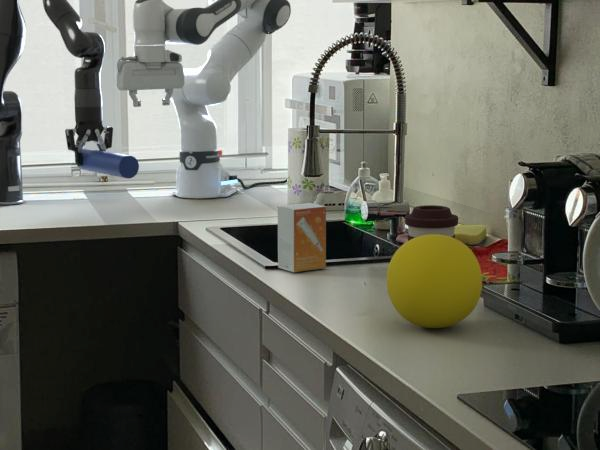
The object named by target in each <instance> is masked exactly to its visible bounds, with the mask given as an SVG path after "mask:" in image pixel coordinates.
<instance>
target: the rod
mask: <svg viewBox="0 0 600 450" xmlns="http://www.w3.org/2000/svg"><path fill="white" fill-rule="evenodd" d="M81 153H82V157H83V166H77V168H78V169H80V170H82V171H87V172H90V173H91V172H92V173H97V174H102V175H107V176H113V177H117V178H118V177H119V178H121V179H122V178H123V179H132V178H134V177H135V176H137V174H138V172H139V171H140V170H139V169H140V164H139V161H138V159H137V158H136V157H135V156H133V155H129V154H123V153H117V152H112V151H106V152H105V151H99V149H92V148H87V147H85V148H83V149H82V151H81Z"/></svg>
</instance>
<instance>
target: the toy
mask: <svg viewBox="0 0 600 450" xmlns="http://www.w3.org/2000/svg"><path fill="white" fill-rule="evenodd" d="M482 275H483V274H482V269H481V265H480V262H479V260H478V258H477V256H476V255H475V253H474V252H473V251H472V249H470V248H469V246H468V245H466V244H465V243H464V242H463V241H461V240H460V239H457V238H456V237H455V238H452V237H449V236H445V235H438V234H430V235H423V236H419V237H416V238H413V239H411V240H409V241H408V240H407V241H406V242H404V243H403V244H402V245H400V246H399V247H398V248H397V249H396V251H395V252H394V253H393V255H392V257H391V259H390V262H389V264H388V268H387V272H386V289H387V295H388V297H389V299H390V302H391V305H392V306H393V308H394V309H395V311H396V312H397V313H398V314H399V315H400V316H401V317H402V318H403V319H404V320H406V321H407V322H409V323H411V324H413V325H415V326H419V327H423V328H427V329H443V328H449V327H451V326H454V325H456V324H458V323H460V322H462V321H463V320H465V319H466V318H467V317H469V316H470V315H471V314H472V312H473V311H474V310H475V308H476V307H477V305H478V303H479V300H480V299H481V294H482V290H483V276H482Z"/></svg>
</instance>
